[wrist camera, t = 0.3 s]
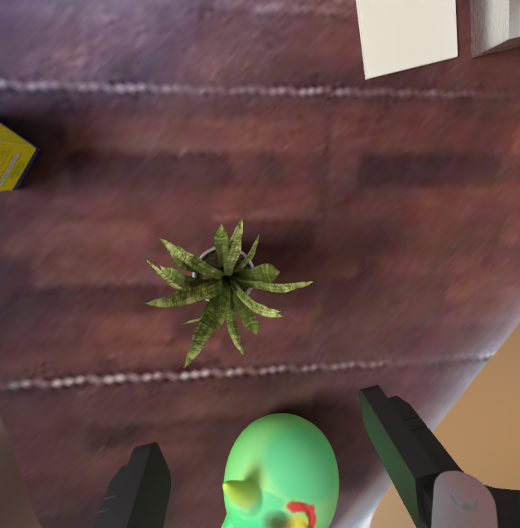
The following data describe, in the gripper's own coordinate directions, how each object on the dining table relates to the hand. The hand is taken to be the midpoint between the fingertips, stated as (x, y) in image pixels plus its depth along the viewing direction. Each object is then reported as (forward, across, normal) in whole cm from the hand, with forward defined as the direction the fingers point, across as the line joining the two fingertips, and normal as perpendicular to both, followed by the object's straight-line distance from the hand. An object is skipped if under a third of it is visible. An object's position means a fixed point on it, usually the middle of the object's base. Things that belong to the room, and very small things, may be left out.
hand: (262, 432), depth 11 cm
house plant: (+29, +1, 0) cm, 29 cm away
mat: (+29, -25, -22) cm, 44 cm away
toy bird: (+29, +3, +31) cm, 43 cm away
